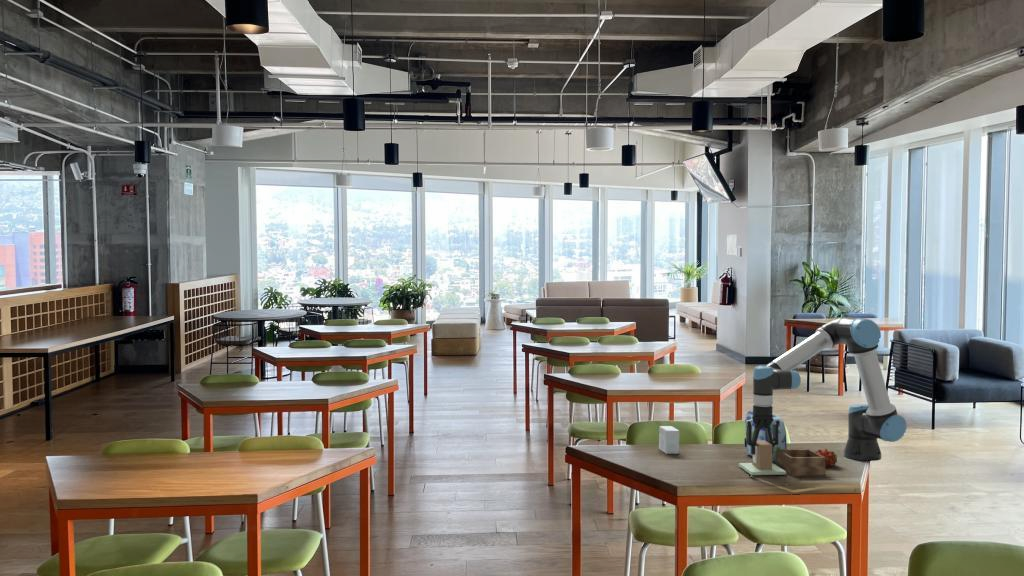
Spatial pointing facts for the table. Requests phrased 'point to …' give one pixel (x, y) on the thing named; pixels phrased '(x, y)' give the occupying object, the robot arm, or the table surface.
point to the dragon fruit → (828, 457)
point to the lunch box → (763, 435)
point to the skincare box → (669, 439)
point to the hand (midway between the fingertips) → (762, 462)
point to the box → (800, 462)
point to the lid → (763, 461)
